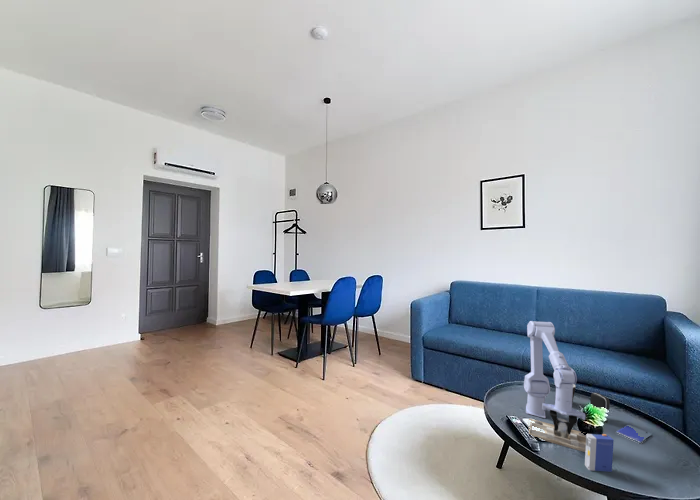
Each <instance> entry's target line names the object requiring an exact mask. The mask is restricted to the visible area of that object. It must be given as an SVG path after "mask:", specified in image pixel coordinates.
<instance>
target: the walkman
mask: <svg viewBox="0 0 700 500" xmlns="http://www.w3.org/2000/svg"><path fill="white" fill-rule="evenodd" d="M614 440H615V439H614V438H612V437H611V436H609V435H608V434H606V433H602V434H597V433H596V434H595V433H587V434H586V451H585V452H584V453H585V454H584V455H585V456H584V466H585V467H586V469H587V470H588V471H594V472H610V473H612V472H613V459H614V458H613V455H614V442H615V441H614Z"/></svg>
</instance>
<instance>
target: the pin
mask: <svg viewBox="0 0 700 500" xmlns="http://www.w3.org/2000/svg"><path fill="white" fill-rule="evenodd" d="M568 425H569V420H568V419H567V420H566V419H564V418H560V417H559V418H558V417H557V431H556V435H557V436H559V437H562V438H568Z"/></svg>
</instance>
